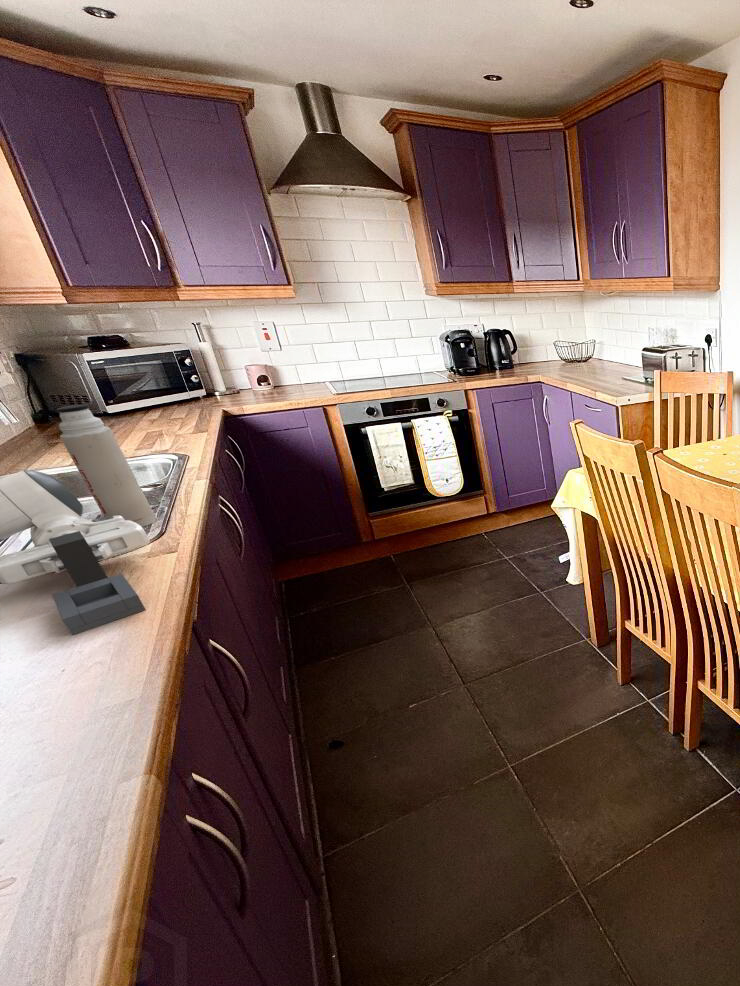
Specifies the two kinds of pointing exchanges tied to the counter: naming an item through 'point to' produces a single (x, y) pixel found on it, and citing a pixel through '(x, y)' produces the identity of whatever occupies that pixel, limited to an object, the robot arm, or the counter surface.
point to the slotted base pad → (97, 603)
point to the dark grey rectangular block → (78, 558)
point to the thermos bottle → (103, 465)
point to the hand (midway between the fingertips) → (80, 561)
